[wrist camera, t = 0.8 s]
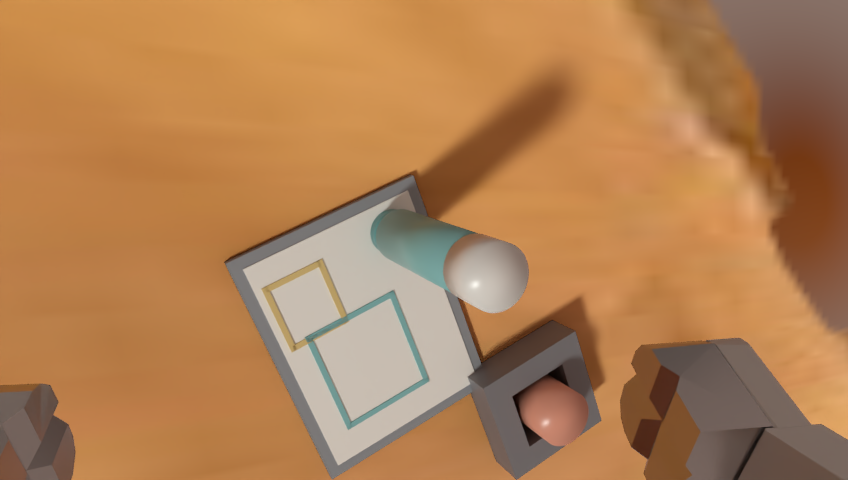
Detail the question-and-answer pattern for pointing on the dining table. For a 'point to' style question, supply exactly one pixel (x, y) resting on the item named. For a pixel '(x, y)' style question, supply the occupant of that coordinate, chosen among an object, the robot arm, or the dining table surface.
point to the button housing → (513, 372)
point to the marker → (453, 258)
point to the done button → (552, 410)
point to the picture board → (356, 329)
